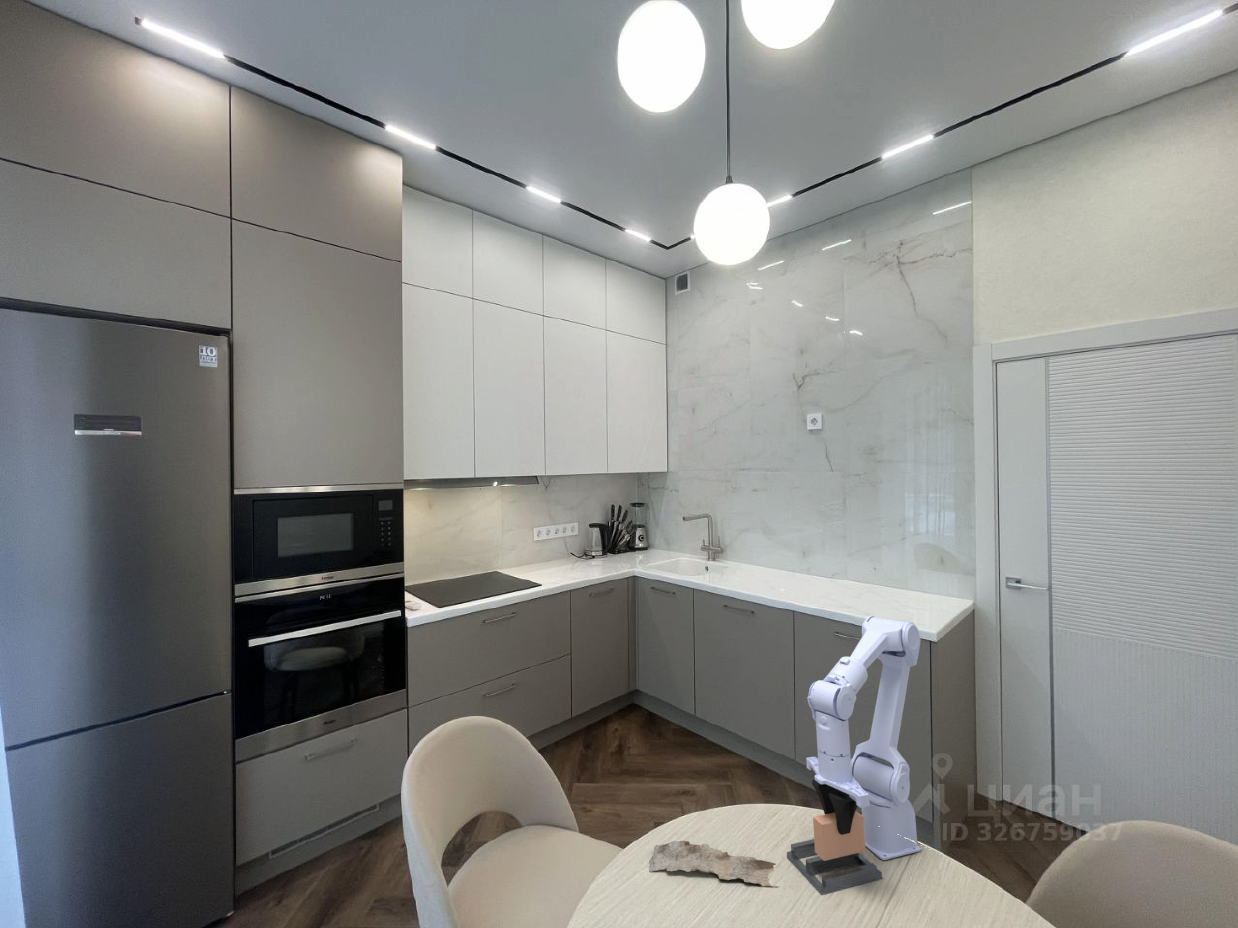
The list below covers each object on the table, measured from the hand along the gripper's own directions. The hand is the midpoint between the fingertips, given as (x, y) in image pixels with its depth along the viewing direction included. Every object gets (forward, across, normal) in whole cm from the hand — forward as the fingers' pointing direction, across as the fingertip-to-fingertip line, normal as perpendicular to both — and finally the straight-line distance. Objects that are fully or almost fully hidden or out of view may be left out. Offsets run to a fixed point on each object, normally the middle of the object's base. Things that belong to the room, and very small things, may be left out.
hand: (838, 827), depth 91 cm
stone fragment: (+9, -9, -21) cm, 24 cm away
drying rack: (+8, -2, 0) cm, 8 cm away
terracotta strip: (+4, 0, 0) cm, 4 cm away
